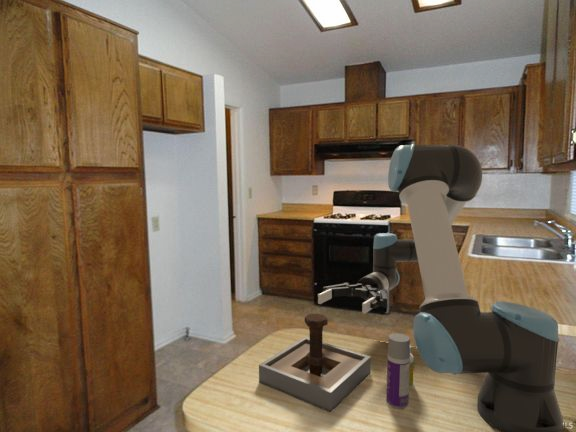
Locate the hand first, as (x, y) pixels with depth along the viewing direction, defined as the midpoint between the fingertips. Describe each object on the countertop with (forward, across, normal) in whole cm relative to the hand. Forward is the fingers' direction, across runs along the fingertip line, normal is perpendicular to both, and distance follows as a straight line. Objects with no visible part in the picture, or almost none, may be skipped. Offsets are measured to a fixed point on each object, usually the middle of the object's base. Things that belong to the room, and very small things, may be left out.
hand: (340, 303), depth 104 cm
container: (+11, -20, -16) cm, 28 cm away
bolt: (+13, 0, -15) cm, 20 cm away
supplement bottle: (+3, -18, -16) cm, 24 cm away
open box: (+13, 0, -16) cm, 20 cm away
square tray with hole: (+13, 0, -16) cm, 20 cm away
